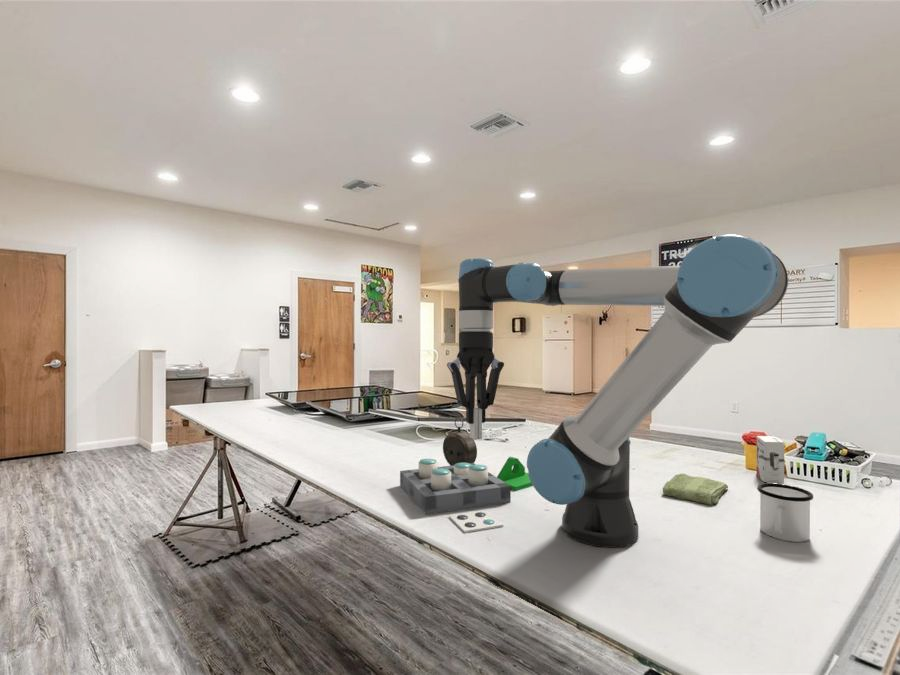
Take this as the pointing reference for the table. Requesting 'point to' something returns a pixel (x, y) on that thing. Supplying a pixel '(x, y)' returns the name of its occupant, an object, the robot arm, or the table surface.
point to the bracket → (514, 474)
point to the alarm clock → (459, 447)
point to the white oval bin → (785, 512)
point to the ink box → (770, 459)
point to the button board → (453, 492)
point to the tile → (475, 521)
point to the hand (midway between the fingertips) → (475, 438)
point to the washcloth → (694, 489)
